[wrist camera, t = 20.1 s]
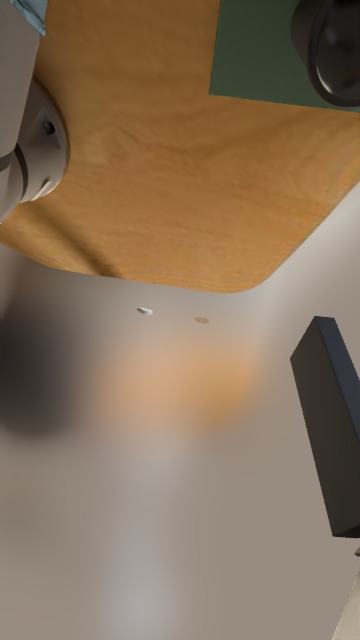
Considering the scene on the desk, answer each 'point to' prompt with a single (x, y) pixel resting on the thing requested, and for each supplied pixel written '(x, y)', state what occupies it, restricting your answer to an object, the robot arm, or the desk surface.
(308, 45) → the drinking cup
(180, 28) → the desk surface
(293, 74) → the mat
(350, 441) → the robot arm
